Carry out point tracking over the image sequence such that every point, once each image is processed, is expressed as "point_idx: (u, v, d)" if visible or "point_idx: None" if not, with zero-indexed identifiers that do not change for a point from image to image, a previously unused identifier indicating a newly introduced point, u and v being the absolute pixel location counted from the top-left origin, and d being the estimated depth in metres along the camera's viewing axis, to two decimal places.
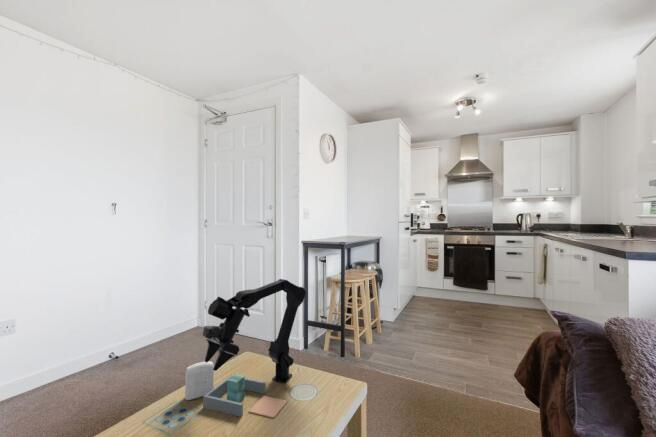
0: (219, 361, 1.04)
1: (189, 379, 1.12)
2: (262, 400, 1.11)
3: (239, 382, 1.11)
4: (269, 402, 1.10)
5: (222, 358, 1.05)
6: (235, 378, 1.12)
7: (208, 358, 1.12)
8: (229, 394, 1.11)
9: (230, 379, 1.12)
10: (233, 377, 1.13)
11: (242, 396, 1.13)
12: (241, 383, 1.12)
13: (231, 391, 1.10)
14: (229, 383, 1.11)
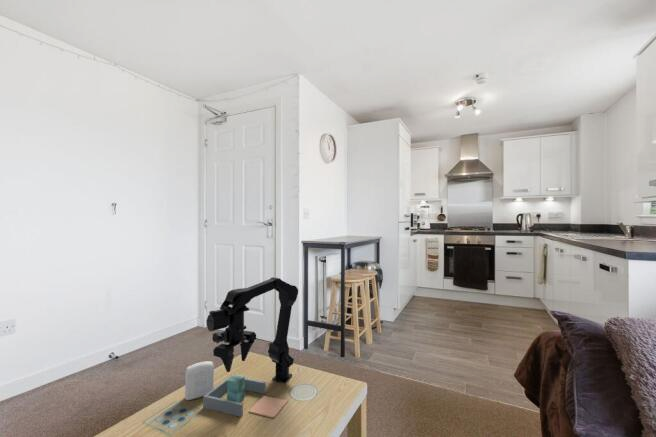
0: (225, 363, 1.08)
1: (189, 379, 1.12)
2: (262, 400, 1.11)
3: (239, 382, 1.11)
4: (269, 402, 1.10)
5: (226, 360, 1.07)
6: (235, 378, 1.12)
7: (243, 357, 1.17)
8: (229, 394, 1.11)
9: (230, 379, 1.12)
10: (233, 377, 1.13)
11: (242, 396, 1.13)
12: (241, 383, 1.12)
13: (231, 391, 1.10)
14: (229, 383, 1.11)
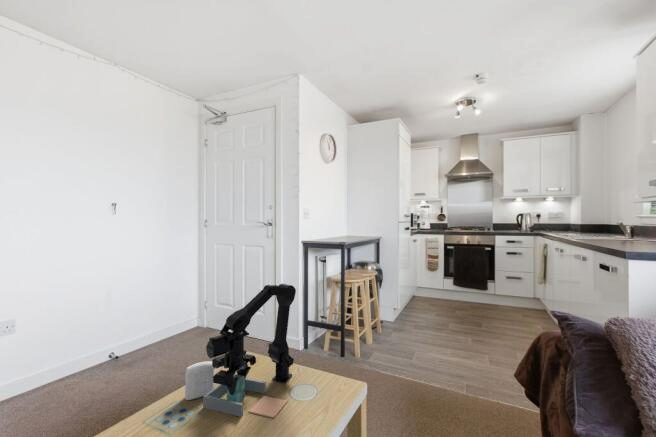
0: (228, 387, 1.09)
1: (189, 379, 1.12)
2: (262, 400, 1.11)
3: (239, 382, 1.11)
4: (269, 402, 1.10)
5: (230, 384, 1.09)
6: None
7: None
8: (229, 394, 1.11)
9: None
10: None
11: (242, 396, 1.13)
12: (241, 383, 1.12)
13: None
14: None
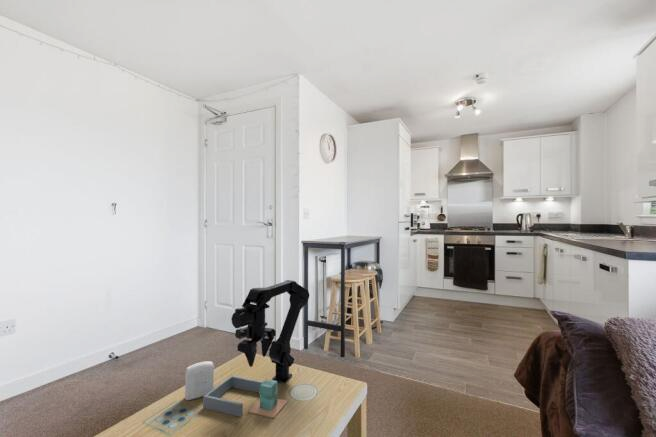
0: (248, 358, 1.12)
1: (189, 379, 1.12)
2: None
3: (272, 387, 1.06)
4: None
5: (249, 355, 1.12)
6: (268, 384, 1.08)
7: (264, 353, 1.22)
8: (262, 400, 1.06)
9: (263, 384, 1.07)
10: (266, 382, 1.09)
11: (275, 402, 1.08)
12: (274, 388, 1.08)
13: (264, 397, 1.06)
14: (262, 388, 1.06)
